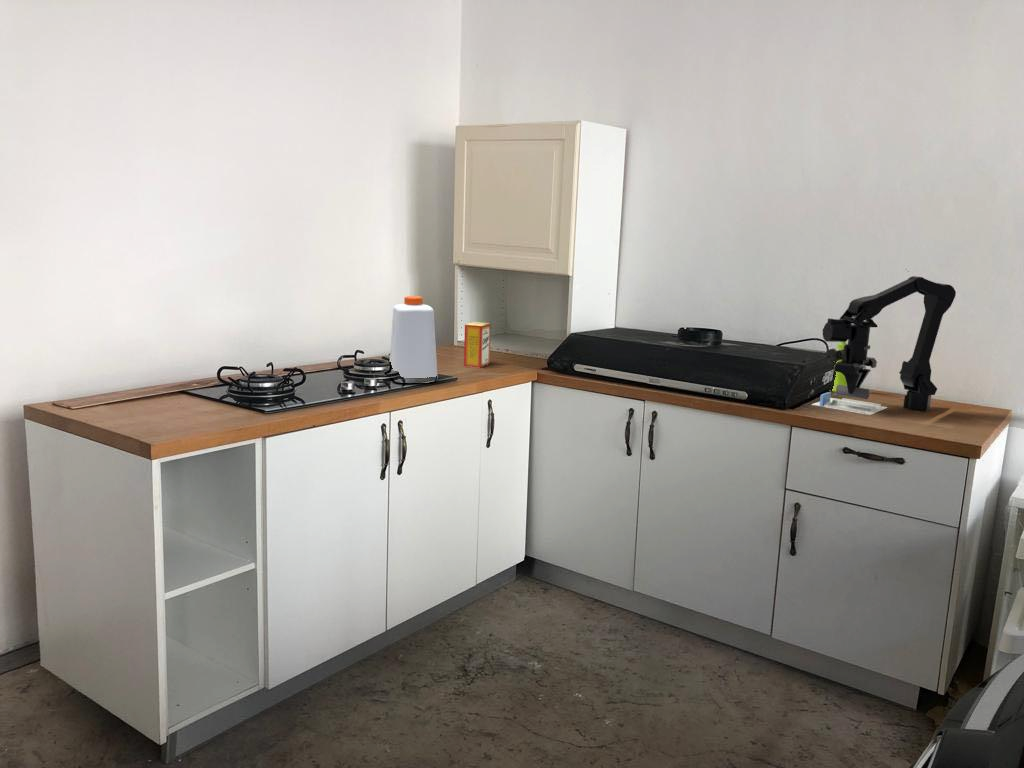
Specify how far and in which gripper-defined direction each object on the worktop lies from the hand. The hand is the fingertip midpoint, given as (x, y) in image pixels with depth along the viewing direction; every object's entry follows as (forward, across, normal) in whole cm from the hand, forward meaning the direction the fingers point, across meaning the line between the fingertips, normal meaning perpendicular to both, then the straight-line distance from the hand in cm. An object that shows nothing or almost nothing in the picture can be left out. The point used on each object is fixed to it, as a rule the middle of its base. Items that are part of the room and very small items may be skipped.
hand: (852, 392), depth 259 cm
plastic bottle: (+6, +69, -121) cm, 140 cm away
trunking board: (+6, -4, -2) cm, 8 cm away
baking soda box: (+6, +32, -127) cm, 131 cm away
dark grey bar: (+1, 0, 0) cm, 1 cm away
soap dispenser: (+6, -27, -14) cm, 31 cm away
